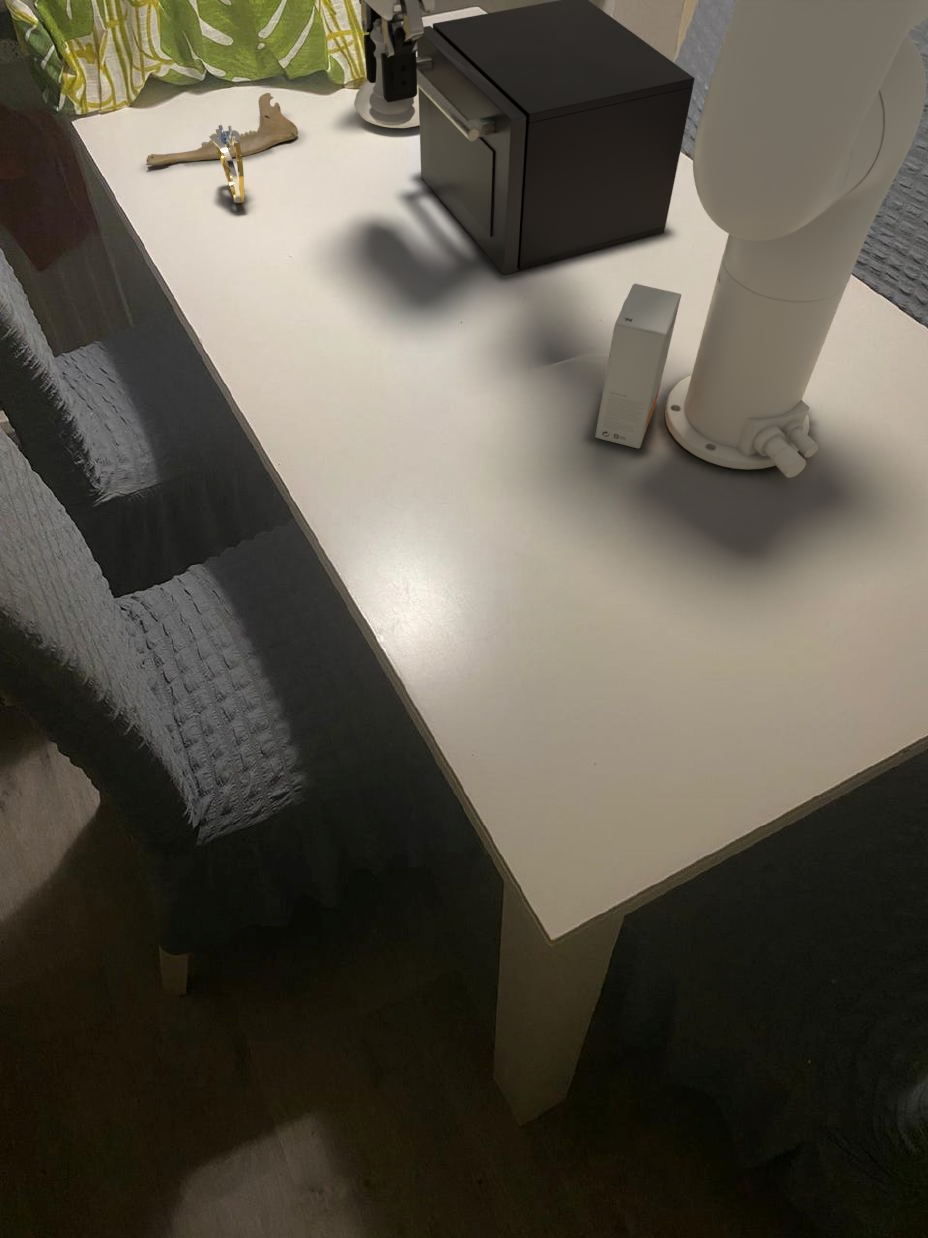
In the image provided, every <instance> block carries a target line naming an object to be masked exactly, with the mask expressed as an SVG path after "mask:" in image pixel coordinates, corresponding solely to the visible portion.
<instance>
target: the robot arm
mask: <svg viewBox="0 0 928 1238" xmlns="http://www.w3.org/2000/svg"><path fill="white" fill-rule="evenodd" d="M358 2H359V4H360V19H361V22H360V23H361V28H362V32H363V33H364V34H363V36H362V37H363V50H364V60H365V61H364V63H365V75H366V81H367V80H368V81H369V82H370V83H375V82H376V70H377V60H376V57H375V56H374V52H375V50H376V44H375V43H374V42H373V40H372V39H371V37H370V34H371V32H372V30H373V29H374V23H373V22H375V20H377V19H381V24H382V30H383V39H384V49H385V53H381V64H382V80H383V96H384V99H385V100H386V101H387V102H393V101H398V100H403V99H408V98H413V97H415V96H416V95H417V65H416V57H417V49H418V45H417V40H418V38H420V37H421V36H423V34H424V27H425V26H424V22H423V15H422V11H423V12H424V13H426V14H432V13H433V11H434V10H435V9H436V4H437V3H436V2H437V0H358ZM396 5H401V10H399V11H394V6H396ZM732 10H733V11H732V12H731V16H730V19H729V22H728V26H727V29H726V32H725V35H724V38H723V42H722V44H721V48H720V51H719V54H718V57H717V62H716V64H715V67H714V70H713V73H712V76H711V80H710V83H709V85H708V89H707V92H706V96H705V99H704V102H703V105H702V108H701V112H700V114H699V115H700V116H699V119H698V123H697V127H696V130H695V131H696V132H695V137H694V143H693V152H692V171H693V173H692V174H693V180H694V185H695V190H696V194H697V196H698V199H699V201H700V203H701V206H702V208H703V210H704V212H705V213H706V215H707V216H708V218H709V219H710V220H711V221H712V222H713V224H715V225H716V226H717V228H719V229H721V230H722V231H724V232H725V233H727V234H728V235H727V238H726V244H725V246H724V250H723V254H722V256H721V260H720V265H719V268H718V273H717V277H716V281H715V284H714V288H713V291H712V295H711V299H710V303H709V307H708V310H707V315H706V319H705V322H704V326H703V329H702V334H701V337H700V341H699V345H698V346H699V347H698V349H697V353H696V357H695V362H694V364H693V369H692V373H691V374H689V375H687V376H686V377H684V378H682V379H681V380H680V381H679V382H677V383H676V384H675V385H674V386H673V388H672V389H671V391H670V392H669V394H668V397H667V400H666V404H665V410H664V418H665V423H666V426H667V429H668V431H669V432H670V434H671V435H672V437H673V438H674V439H675V441H676V442H677V443H679V445H680V446H682V447H683V449H685V450H686V451H688V452H690V453H691V454H692V455H694V456H695V457H698V458H700V459H701V460H704V461H705V462H708V463H711V464H714V465H716V466H719V467H724V468H730V469H736V470H760V469H761V470H762V469H767V468H771V467H776V468H777V469H778V470H779V471H780V472H781V473H782V474H783V475H784V477H786V478H788V479H792V478H794V477H796V476H797V475H799V474H800V473H802V472H803V470H804V469H805V468H806V465H807V461H806V459H804V458H803V456H804V457H805V458H810V457H812V456H814V455H815V454H816V453H817V452H818V450H819V447H820V446H819V445H818V443H816V441H814V439H813V438H812V437H811V436H809V435H808V434H809V430H810V418H809V414H808V413H809V410H810V406H809V405H807V403H805V401H803V398H804V395H805V392H806V390H807V387H808V385H809V382H810V379H811V377H812V374H813V372H814V370H815V367H816V365H817V363H818V359H819V357H820V354H821V351H822V349H823V347H824V344H825V341H826V339H827V337H828V334H829V331H830V329H831V326H832V324H833V321H834V319H835V316H836V313H837V311H838V308H839V306H840V304H841V301H842V298H843V296H844V293H845V291H846V288H847V286H848V284H849V282H850V279H851V277H852V274H853V271H854V270H855V267H856V264H857V261H858V259H859V256H860V254H861V252H862V249H863V246H864V244H865V242H866V240H867V238H868V235H869V233H870V230H871V228H872V226H873V223H874V222H875V219H876V217H877V215H878V213H879V210H880V208H881V206H882V204H883V203H884V200H885V199H886V197H887V195H888V193H889V190H890V189H891V187H892V186H893V184H894V181H895V179H896V177H897V175H898V173H899V171H900V170H901V167H902V166H903V163H904V161H905V159H906V157H907V155H908V153H909V151H910V149H911V147H912V144H913V142H914V141H915V137H916V135H917V132H918V130H919V128H920V124H921V121H922V118H923V113H924V109H925V103H926V97H927V78H926V77H927V76H926V75H927V74H926V70H925V69H926V67H925V65H924V60H923V58H922V55H921V53H920V51H919V49H918V47H917V45H916V43H915V42H914V41H913V40H912V38H911V37H910V36H909V35H908V34H909V32H910V31H911V30H912V29H913V28H915V27H916V26H918V25H919V24H921V23H922V22H924V21H925V20H926V19H928V0H736V1H735V3H734V7H733V9H732ZM401 21H403V25H402V26H401V27H399V28H396V30H395V32H394V34H393V28H392V23H396V22H401ZM799 452H800V453H801V454H802V455H803V456H801V454H800V453H799Z"/></svg>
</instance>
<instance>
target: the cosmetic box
mask: <svg viewBox="0 0 928 1238" xmlns="http://www.w3.org/2000/svg"><path fill="white" fill-rule="evenodd" d="M681 298H682V293H679V292H674V291H670V290H666V289H660V288H658V287H657V288H656V287H651V286H647V285H643V284H639V283H633V284H632V285H631V288H630V290H629V292H628V294H627V296H626V298H625V300H624V301H623V304H622V307H621V309H620V312H619V314H618V316H617V319H616V321H615V324H614V327H613V333H612V338H611V343H610V350H609V355H608V360H607V361H608V362H607V367H606V372H605V378H604V385H603V390H602V395H601V401H600V406H599V412H598V417H597V423H596V430H595V434H594V436H595V437H594V438H596V439H599V440H603V441H607V442H612V443H615V444H617V445H618V444H619V445H622V446H626V447H630V448H634V449H640V448H641V447H642V444H643V441H644V438H645V435H646V432H647V430H648V429H647V428H648V426H649V423H650V421H651V418H652V416H653V413H654V411H655V409H656V404H657V401H658V397H659V393H660V392H659V391H660V388H661V387H660V386H661V385H662V384H661V383H662V379H663V374H664V371H665V368H666V367H665V366H666V362H667V358H668V355H669V350H670V346H671V341H672V336H673V332H674V328H675V324H676V320H677V315H678V310H679V308H680V304H681V303H680V302H681Z"/></svg>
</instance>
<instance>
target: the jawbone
mask: <svg viewBox="0 0 928 1238" xmlns="http://www.w3.org/2000/svg"><path fill="white" fill-rule="evenodd" d="M273 99H274V96H272V94H271V92H265V93H263V94H261V95H260V96H259V98H258V109H259V125H258V128H257V131H256V130H249V132H248V131H245V132H244V133H240V140H239V143H240V148H241V154H242V157H247V156H251V155H254V154H257V153H260V152H263V151H265V150H267V149H269V148H270V147H273V146H274V145H277V144H280V143H283V142H287V141H290V140H294V139H295V138H297V136H298V135H299V130H298V127H297V125H296V124H295V123H294V122H293V121H291V120H290V119H288V118H286V117H285V115H283V113H282V110H281V106H280V104H279V102H275V103H274V105H273V106H272V105H271V100H273ZM233 141H234V138H233ZM228 152H229V153H230V155H231V158H232V159H233V158H236V156H235V152H234V150H233V146H230V149H228ZM222 153H223V152H222ZM223 156H224V154H223ZM224 159H225V157H224ZM209 160H220V157H219V155H218V152H217V149H216V147H215V144H214V142H212V140H211V139H209V141H208V142H207V141H202V142H201V147H199V148H198V149H194V150H188V151H181V152H174V153H173V152H172V153H162V154H161V153H159V154H157V153H151V154H149V155H147V157H146V164H145V166H160V165H161V166H164V165H165V166H169V165H172V164H175V163H178V162H197V161H198V162H199V161H209Z"/></svg>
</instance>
